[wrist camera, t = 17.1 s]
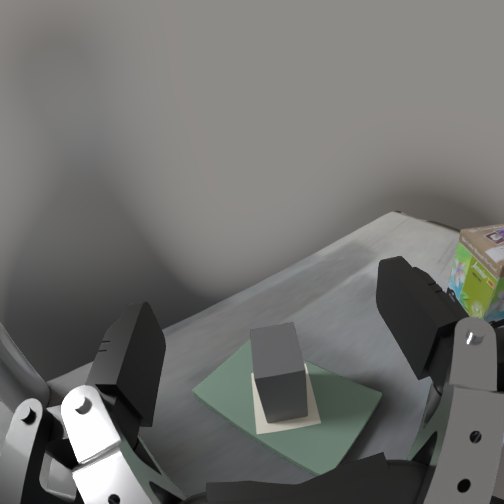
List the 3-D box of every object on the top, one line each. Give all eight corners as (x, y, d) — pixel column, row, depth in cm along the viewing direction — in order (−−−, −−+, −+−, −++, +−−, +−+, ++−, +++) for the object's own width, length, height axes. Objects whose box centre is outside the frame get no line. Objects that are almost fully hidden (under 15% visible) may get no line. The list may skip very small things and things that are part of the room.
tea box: (467, 356, 29) (501, 266, 22) (439, 311, 38) (457, 227, 31) (528, 328, 28) (559, 247, 21) (499, 293, 37) (519, 217, 30)
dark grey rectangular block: (307, 416, 28) (305, 369, 23) (267, 423, 28) (254, 378, 23) (298, 373, 33) (293, 321, 29) (262, 379, 33) (249, 329, 29)
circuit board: (194, 396, 34) (183, 376, 32) (254, 343, 41) (249, 321, 39) (326, 481, 21) (328, 470, 19) (380, 399, 28) (387, 378, 26)
